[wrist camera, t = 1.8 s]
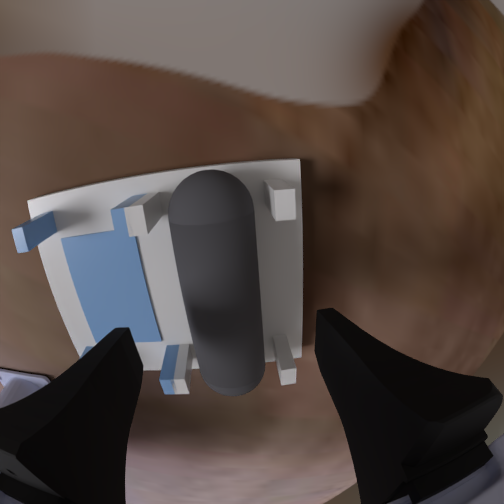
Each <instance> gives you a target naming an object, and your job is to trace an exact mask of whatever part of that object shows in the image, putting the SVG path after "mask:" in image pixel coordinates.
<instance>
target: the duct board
mask: <svg viewBox="0 0 504 504" xmlns="http://www.w3.org/2000/svg"><path fill="white" fill-rule="evenodd" d="M210 169H215V170H221V171H225V172H227V173H230V174H232V175H233V176H235V177H236V178H238V179H239V180H240V181H241V182H242V183H243V184H244V185H245V186H246V188H247V189H248V191H249V192H250V195H251V197H252V200H253V205H254V213H255V226H256V240H257V254H258V268H259V282H260V296H261V310H262V324H263V339H264V353H265V362H272V361H276V365H277V369H278V373H279V377H280V382H281V385H288V384H294V383H296V365H295V362H294V359H293V358H300V357H301V356H302V322H303V229H302V194H301V170H300V159H296V158H289V159H271V160H256V161H244V162H233V163H222V164H213V165H204V166H196V167H188V168H180V169H173V170H166V171H159V172H153V173H147V174H141V175H135V176H129V177H124V178H118V179H113V180H108V181H103V182H98V183H93V184H89V185H84V186H79V187H75V188H71V189H67V190H62V191H58V192H54V193H50V194H47V195H43V196H39V197H36V198H33V199H31V200H28V201H27V202H28V207H29V212H30V216H31V219H30V220H28V221H26V222H24V223H23V224H21V225H19V226H17V227H15V228H13V229H12V233H13V237H14V241H15V244H16V248H17V252H18V253H22V252H28V251H30V250H31V249H33V248H34V247H36V246H37V245H38V249H39V252H40V256H41V259H42V262H43V266H44V269H45V272H46V275H47V278H48V281H49V284H50V287H51V290H52V293H53V295H54V298H55V301H56V303H57V306H58V308H59V311H60V314H61V316H62V318H63V321H64V323H65V326H66V328H67V330H68V332H69V335H70V337H71V339H72V341H73V344H74V346H75V348H76V350H77V352H78V354H79V356H80V358H82V357H83V356H84V355H85V354H86V353H87V352H88V351H89V350H91V349H92V348H93V347H94V346H95V345H96V344H97V343H98V342H99V341H100V340H101V339H103V338H104V337H105V336H106V335H107V334H108V333H109V332H111V331H112V330H113V329H114V328H118V327H129V328H130V331H131V334H132V336H133V339H134V342H135V345H136V347H137V350H138V353H139V355H140V358H141V360H142V363H143V365H144V367H143V370H161V373H160V378H159V381H160V384H161V386H162V389H163V391H164V393H165V394H189V392H190V381H191V371H192V369H198V368H199V365H198V361H197V357H196V353H195V349H194V345H193V341H192V337H191V333H190V329H189V324H188V320H187V315H186V311H185V306H184V302H183V297H182V292H181V287H180V282H179V277H178V272H177V267H176V261H175V256H174V250H173V245H172V239H171V233H170V227H169V221H168V207H169V202H170V199H171V196H172V194H173V192H174V190H175V189H176V187H177V186H178V185H179V184H180V183H181V182H182V180H184V179H185V178H186V177H188V176H189V175H191V174H193V173H196V172H198V171H202V170H210Z"/></svg>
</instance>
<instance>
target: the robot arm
mask: <svg viewBox="0 0 504 504" xmlns="http://www.w3.org/2000/svg"><path fill="white" fill-rule="evenodd" d="M315 354H316V358H317V362H318V365H319V368H320V372H321V374H322V377H323V379H324V381H325V384H326V386H327V388H328V391H329V393H330V395H331V397H332V400H333V402H334V404H335V407H336V409H337V411H338V413H339V416H340V418H341V421H342V424H343V427H344V430H345V434H346V437H347V441H348V444H349V448H350V452H351V456H352V460H353V464H354V469H355V473H356V478H357V483H358V488H359V494H360V499H361V504H504V434H503V435H501V436H500V437H499V438H497V439H496V440H495V441H493V442H492V443H491V444H490V445H489V446H487V445H486V443H485V442H484V441H485V440H486V439H487V434H486V432H485V431H484V429H485V428H486V426H487V425H488V423H489V422H490V421H491V419H492V418H493V417H494V415H495V414H496V412H497V411H498V409H499V408H500V406H501V403H502V399H503V395H502V394H501V393H500V392H499V390H498V389H497V388H496V387H495V386H494V384H493V383H492V382H491V381H490V379H489V378H481V377H475V376H468V375H463V374H458V373H454V372H450V371H446V370H443V369H440V368H436V367H434V366H431V365H428V364H425V363H423V362H420V361H418V360H415V359H413V358H411V357H409V356H406V355H404V354H402V353H400V352H398V351H396V350H394V349H393V348H391V347H389V346H387V345H386V344H384V343H382V342H381V341H379V340H377V339H376V338H374V337H373V336H371V335H370V334H368V333H367V332H365V331H364V330H362V329H361V328H359V327H358V326H357V325H355V324H354V323H352V322H351V321H350V320H348V319H347V318H346V317H344V316H343V315H342V314H340V313H339V312H338V311H336V310H335V309H333V308H327V309H321V310H317V318H316V336H315ZM143 367H144V365H143V363H142V360H141V358H140V355H139V353H138V350H137V347H136V345H135V342H134V339H133V336H132V334H131V331H130V328H129V327H118V328H114V329H113V330H112V331H111V332H109V333H108V334H107V335H106V336H105V337H104V338H103V339H101V340H100V341H99V342H98V343H97V344H96V345H95V346H94V347H93V348H92V349H91V350H89V351H88V352H87V353H86V354H85V355H84V356H83V357H82V358H80V359H79V360H78V361H77V362H76V363H75V364H73V365H72V366H71V367H70V368H69V369H67V370H66V371H65V372H64V373H62V374H61V375H60V376H58V377H57V378H56V379H54V380H53V381H51V382H50V380H49V379H48V378H47V377H46V376H41V375H34V374H28V373H22V372H16V371H10V370H5V369H0V382H1V383H2V385H3V386H4V388H3V390H2V391H1V393H0V504H126V501H125V466H126V452H127V442H128V436H129V431H130V427H131V423H132V419H133V415H134V412H135V408H136V404H137V400H138V396H139V393H140V389H141V383H142V375H143Z"/></svg>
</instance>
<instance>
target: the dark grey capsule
mask: <svg viewBox="0 0 504 504" xmlns="http://www.w3.org/2000/svg"><path fill="white" fill-rule="evenodd" d="M168 221H169V227H170V233H171V239H172V245H173V250H174V256H175V261H176V267H177V272H178V277H179V282H180V287H181V292H182V297H183V302H184V306H185V311H186V315H187V320H188V324H189V329H190V333H191V337H192V341H193V345H194V349H195V353H196V357H197V361H198V365H199V369H200V373H201V375H202V377H203V380H204V381H205V382H206V384H207V385H208V386H209V387H210V388H211V389H212V390H214V391H215V392H217V393H219V394H222V395H226V396H239V395H243V394H246V393H248V392H250V391H251V390H253V389H254V388H255V387H256V386H257V385H258V384H259V383H260V381H261V379H262V377H263V375H264V371H265V353H264V339H263V324H262V310H261V296H260V282H259V268H258V254H257V240H256V226H255V213H254V205H253V200H252V197H251V195H250V192H249V191H248V189H247V188H246V186H245V185H244V184H243V183H242V182H241V181H240V180H239V179H238V178H236V177H235V176H233V175H232V174H230V173H227V172H225V171H221V170H215V169H210V170H202V171H198V172H196V173H193V174H191V175H189V176H188V177H186V178H185V179H184V180H182V182H181V183H180V184H179V185H178V186H177V187H176V189H175V190H174V192H173V194H172V196H171V199H170V202H169V207H168Z"/></svg>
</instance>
